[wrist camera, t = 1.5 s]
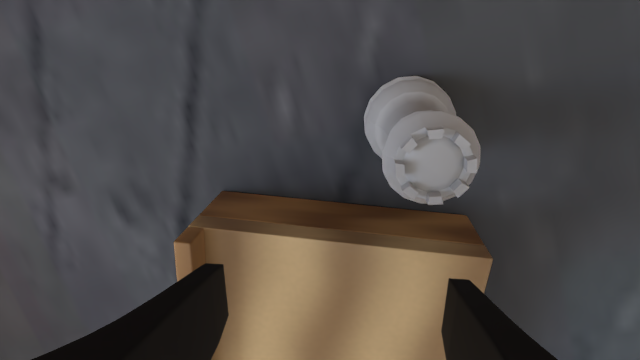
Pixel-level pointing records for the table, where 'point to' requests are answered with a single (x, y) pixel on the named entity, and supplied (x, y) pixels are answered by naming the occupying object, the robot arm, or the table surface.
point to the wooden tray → (331, 276)
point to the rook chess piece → (421, 140)
